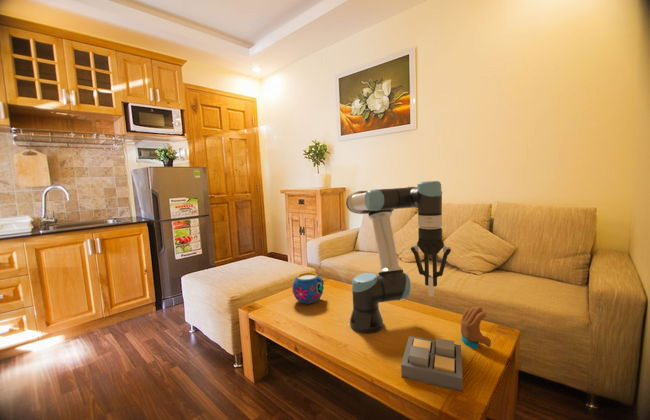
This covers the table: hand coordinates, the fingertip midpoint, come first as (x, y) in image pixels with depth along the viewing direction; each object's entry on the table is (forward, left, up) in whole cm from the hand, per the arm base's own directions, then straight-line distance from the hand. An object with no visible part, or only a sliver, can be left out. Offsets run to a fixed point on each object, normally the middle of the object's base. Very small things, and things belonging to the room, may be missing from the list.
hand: (431, 294), depth 95 cm
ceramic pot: (-68, +33, -27) cm, 80 cm away
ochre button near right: (+4, -4, -25) cm, 26 cm away
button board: (0, 0, -27) cm, 27 cm away
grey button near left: (-4, -4, -24) cm, 24 cm away
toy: (+14, +19, -27) cm, 36 cm away
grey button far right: (+4, +4, -24) cm, 24 cm away
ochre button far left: (-4, +4, -25) cm, 26 cm away
